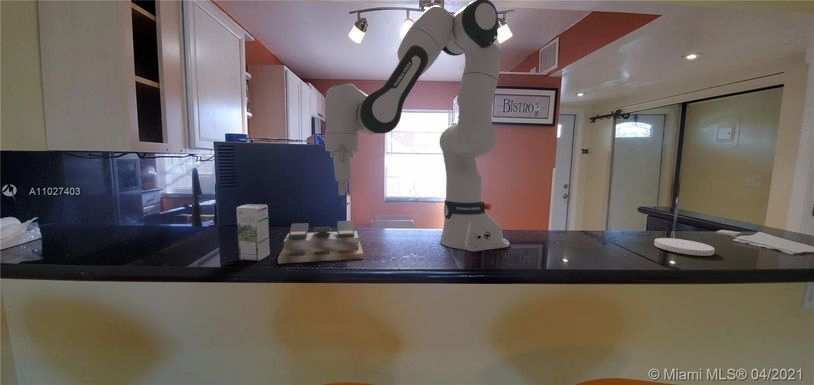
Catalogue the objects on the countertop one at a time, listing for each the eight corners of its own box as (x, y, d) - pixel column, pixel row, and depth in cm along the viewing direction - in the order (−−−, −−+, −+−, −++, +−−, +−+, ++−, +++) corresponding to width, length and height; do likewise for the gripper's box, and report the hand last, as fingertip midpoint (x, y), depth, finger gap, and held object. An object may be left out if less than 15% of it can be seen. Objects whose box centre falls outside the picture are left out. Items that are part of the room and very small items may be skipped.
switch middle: (331, 231, 92) (331, 227, 92) (330, 230, 85) (330, 226, 85) (315, 232, 91) (315, 228, 91) (313, 231, 84) (313, 227, 84)
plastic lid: (702, 249, 99) (703, 241, 99) (722, 262, 87) (723, 253, 87) (649, 243, 106) (649, 235, 105) (660, 254, 93) (661, 246, 93)
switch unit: (359, 246, 96) (359, 227, 95) (363, 258, 84) (363, 237, 84) (285, 249, 91) (284, 230, 90) (278, 263, 79) (277, 241, 79)
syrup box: (270, 254, 86) (268, 203, 85) (258, 261, 80) (256, 207, 79) (251, 253, 87) (249, 203, 85) (238, 260, 81) (235, 206, 79)
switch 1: (308, 226, 91) (308, 222, 90) (306, 237, 84) (306, 234, 84) (292, 226, 90) (291, 223, 89) (288, 238, 83) (288, 235, 83)
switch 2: (352, 223, 93) (352, 220, 93) (354, 237, 87) (354, 233, 87) (337, 223, 92) (337, 220, 92) (337, 237, 86) (337, 234, 86)
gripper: (355, 143, 75) (355, 199, 76) (351, 146, 95) (351, 190, 96) (329, 143, 73) (329, 200, 75) (330, 145, 93) (330, 190, 95)
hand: (342, 194), depth 86 cm, fingers closed
